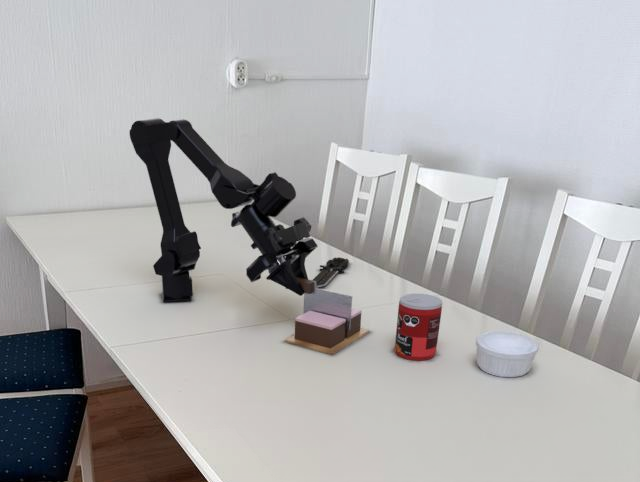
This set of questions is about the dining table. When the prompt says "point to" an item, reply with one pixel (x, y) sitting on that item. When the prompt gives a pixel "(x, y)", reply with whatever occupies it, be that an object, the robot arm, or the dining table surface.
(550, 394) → the dining table surface
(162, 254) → the robot arm
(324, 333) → the cake
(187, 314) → the dining table surface
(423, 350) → the canned food
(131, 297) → the dining table surface
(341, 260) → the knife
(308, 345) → the cake board
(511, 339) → the ramekin
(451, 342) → the dining table surface
